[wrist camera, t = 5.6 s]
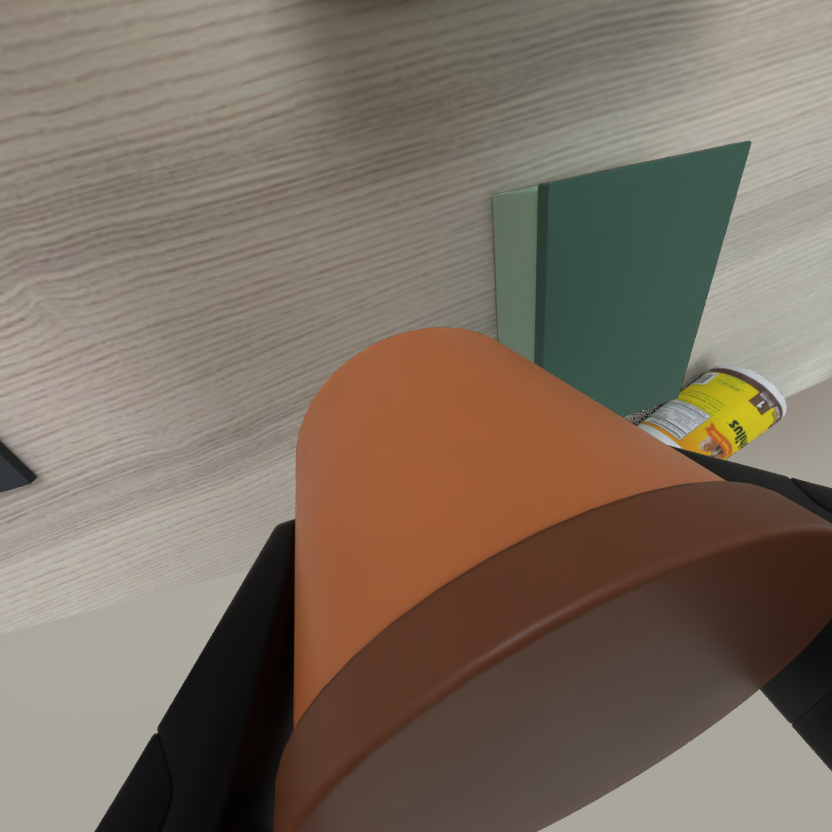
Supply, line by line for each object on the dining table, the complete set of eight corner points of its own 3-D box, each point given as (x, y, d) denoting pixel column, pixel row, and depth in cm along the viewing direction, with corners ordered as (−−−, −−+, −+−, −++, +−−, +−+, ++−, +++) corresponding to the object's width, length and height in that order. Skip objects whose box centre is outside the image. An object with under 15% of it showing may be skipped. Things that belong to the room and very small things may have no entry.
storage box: (615, 367, 25) (678, 398, 21) (497, 404, 24) (539, 445, 19) (650, 156, 18) (753, 139, 14) (487, 190, 17) (549, 182, 13)
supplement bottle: (788, 428, 26) (672, 512, 27) (713, 392, 30) (616, 466, 31) (798, 384, 22) (664, 483, 23) (712, 350, 26) (602, 435, 28)
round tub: (538, 500, 11) (732, 728, 6) (335, 573, 10) (372, 921, 5) (549, 288, 8) (1022, 418, 3) (237, 364, 7) (42, 836, 2)
